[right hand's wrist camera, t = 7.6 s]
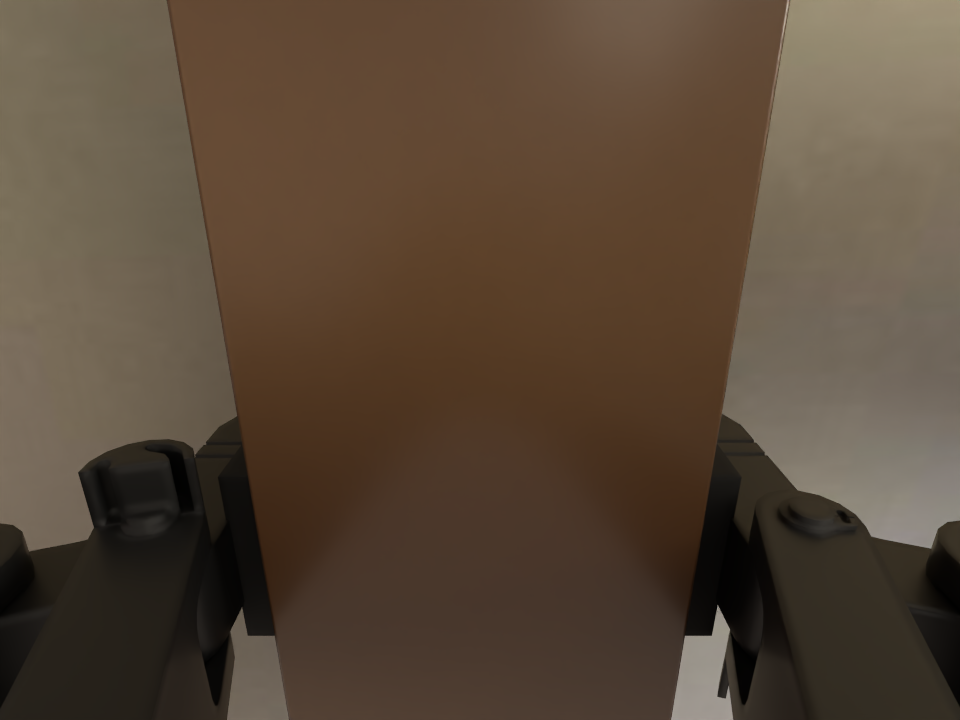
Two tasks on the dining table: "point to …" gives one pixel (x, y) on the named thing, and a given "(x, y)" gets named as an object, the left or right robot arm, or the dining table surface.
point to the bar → (479, 331)
